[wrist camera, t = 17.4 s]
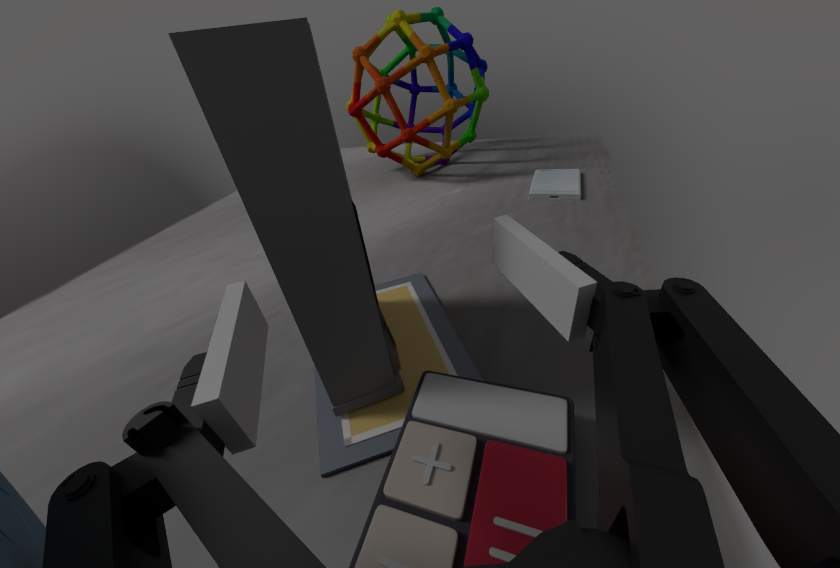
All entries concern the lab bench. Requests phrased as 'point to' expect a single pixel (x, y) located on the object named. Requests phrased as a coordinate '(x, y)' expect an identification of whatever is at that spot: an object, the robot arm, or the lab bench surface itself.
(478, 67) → the geometric model
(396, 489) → the calculator
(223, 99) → the grey instrument box
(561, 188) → the hard drive
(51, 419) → the lab bench surface
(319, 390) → the picture board
